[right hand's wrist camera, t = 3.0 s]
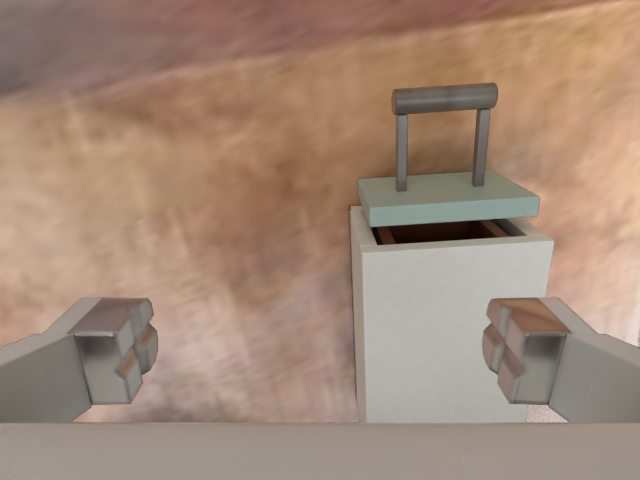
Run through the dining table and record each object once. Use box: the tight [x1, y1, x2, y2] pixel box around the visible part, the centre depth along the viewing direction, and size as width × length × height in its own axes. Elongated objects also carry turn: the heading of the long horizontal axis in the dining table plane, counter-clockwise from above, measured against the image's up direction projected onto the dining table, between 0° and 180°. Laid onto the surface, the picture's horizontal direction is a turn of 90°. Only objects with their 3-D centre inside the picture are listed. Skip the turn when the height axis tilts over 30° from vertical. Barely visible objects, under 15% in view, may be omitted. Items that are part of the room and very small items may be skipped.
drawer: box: [357, 83, 540, 245], centre depth 28 cm, size 23×10×7 cm, turn 4°
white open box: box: [349, 206, 554, 423], centre depth 31 cm, size 18×11×9 cm, turn 4°
